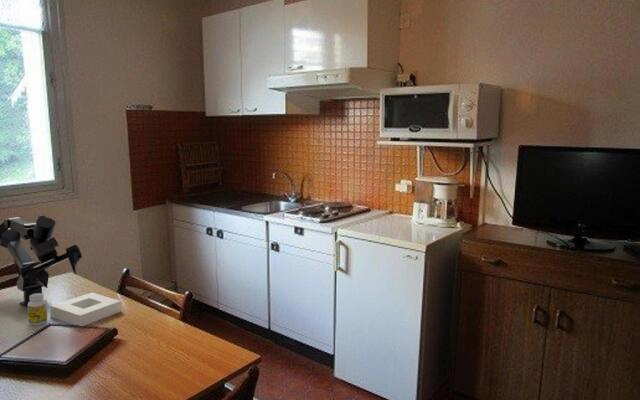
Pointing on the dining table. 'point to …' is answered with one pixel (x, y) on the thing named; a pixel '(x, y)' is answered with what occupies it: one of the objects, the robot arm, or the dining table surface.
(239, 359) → the dining table surface
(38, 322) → the supplement bottle
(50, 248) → the robot arm
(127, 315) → the dining table surface
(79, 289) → the dining table surface
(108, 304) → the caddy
